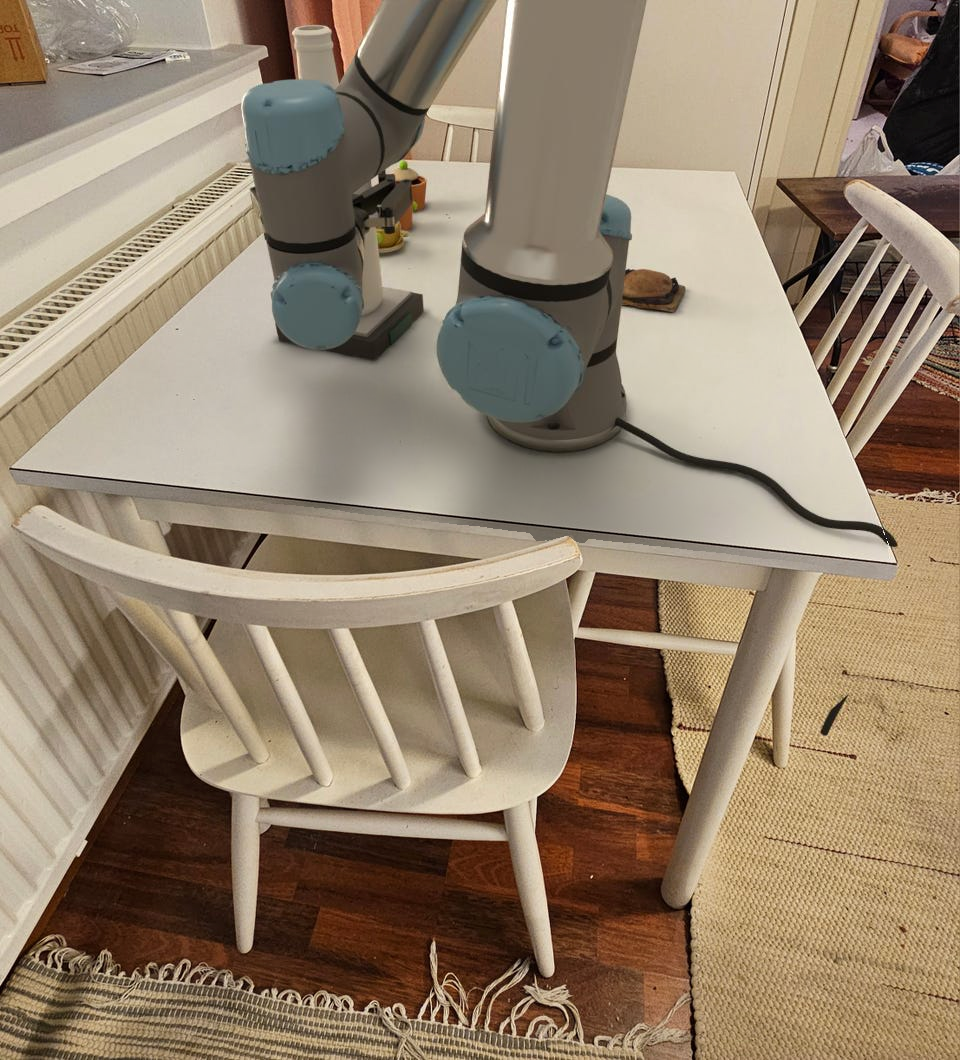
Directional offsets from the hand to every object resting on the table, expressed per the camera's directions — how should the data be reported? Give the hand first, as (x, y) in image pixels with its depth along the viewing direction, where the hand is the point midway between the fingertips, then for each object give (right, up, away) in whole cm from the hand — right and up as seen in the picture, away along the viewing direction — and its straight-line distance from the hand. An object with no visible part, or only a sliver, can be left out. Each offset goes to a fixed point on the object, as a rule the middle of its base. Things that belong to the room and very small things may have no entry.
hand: (335, 173), depth 90 cm
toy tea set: (0, +8, +35) cm, 36 cm away
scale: (+1, -16, +9) cm, 18 cm away
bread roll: (+40, -10, +14) cm, 44 cm away
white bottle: (+1, -14, +7) cm, 15 cm away
